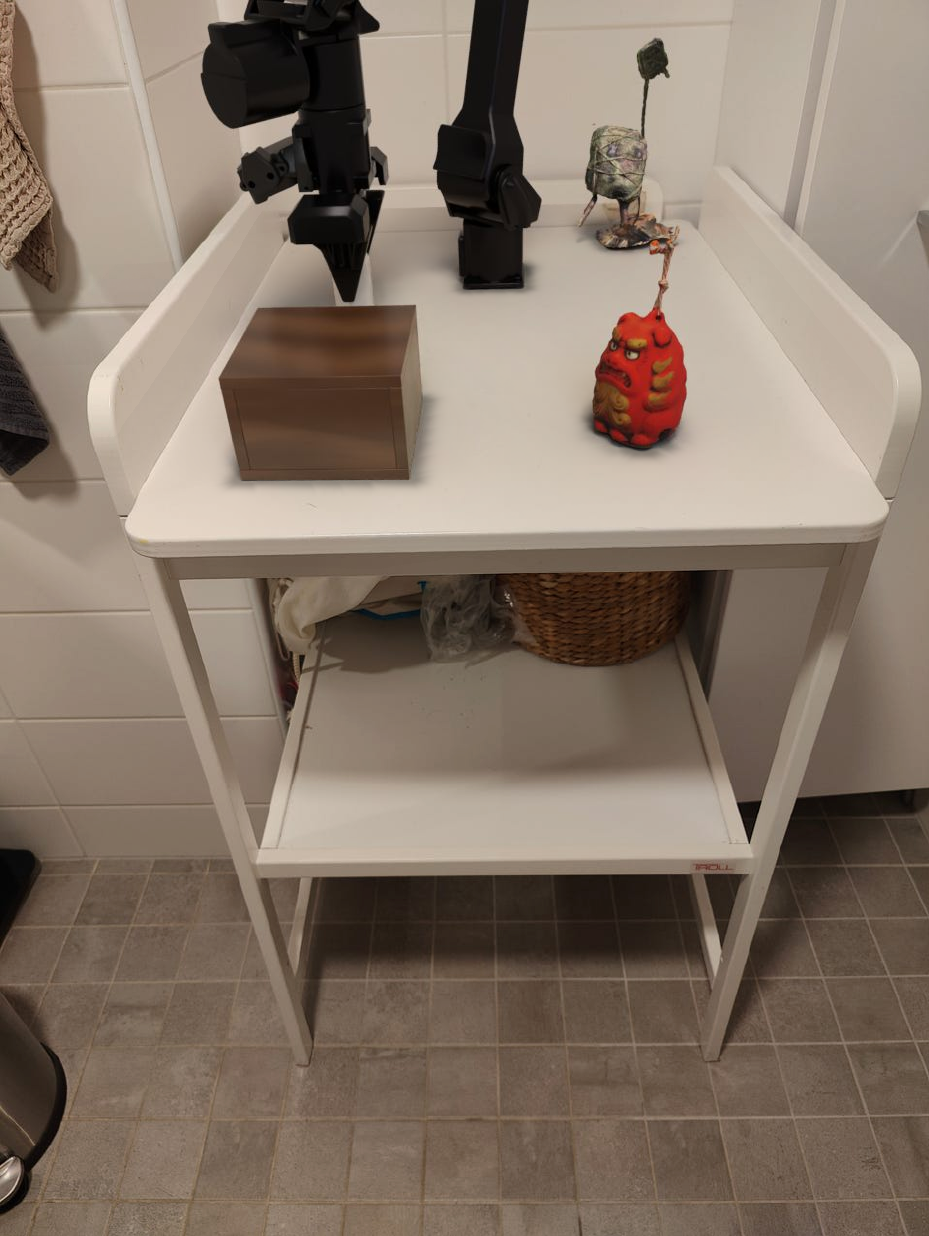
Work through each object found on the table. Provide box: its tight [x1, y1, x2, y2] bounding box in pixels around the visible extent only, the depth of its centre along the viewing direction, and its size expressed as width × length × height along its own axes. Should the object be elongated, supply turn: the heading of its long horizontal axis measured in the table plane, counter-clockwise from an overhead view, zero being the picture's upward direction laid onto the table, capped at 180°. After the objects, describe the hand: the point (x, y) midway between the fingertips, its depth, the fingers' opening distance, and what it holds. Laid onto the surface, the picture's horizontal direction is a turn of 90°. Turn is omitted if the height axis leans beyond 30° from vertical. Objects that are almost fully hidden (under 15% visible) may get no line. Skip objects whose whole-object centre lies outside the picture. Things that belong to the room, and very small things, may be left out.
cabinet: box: [217, 304, 423, 481], centre depth 71 cm, size 13×13×8 cm
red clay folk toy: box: [591, 224, 688, 449], centre depth 68 cm, size 8×7×15 cm
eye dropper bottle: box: [331, 252, 376, 306], centre depth 85 cm, size 4×6×12 cm
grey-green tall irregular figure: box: [577, 36, 675, 249], centre depth 101 cm, size 8×11×20 cm
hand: (353, 288), depth 86 cm, fingers closed on eye dropper bottle, 5 cm apart
